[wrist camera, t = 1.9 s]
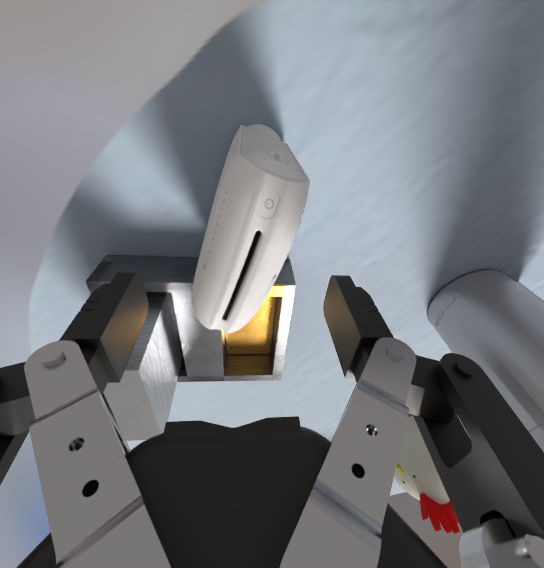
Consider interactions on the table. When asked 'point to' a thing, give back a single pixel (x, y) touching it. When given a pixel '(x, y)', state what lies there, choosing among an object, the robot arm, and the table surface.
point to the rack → (188, 341)
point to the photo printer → (248, 228)
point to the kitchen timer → (423, 479)
